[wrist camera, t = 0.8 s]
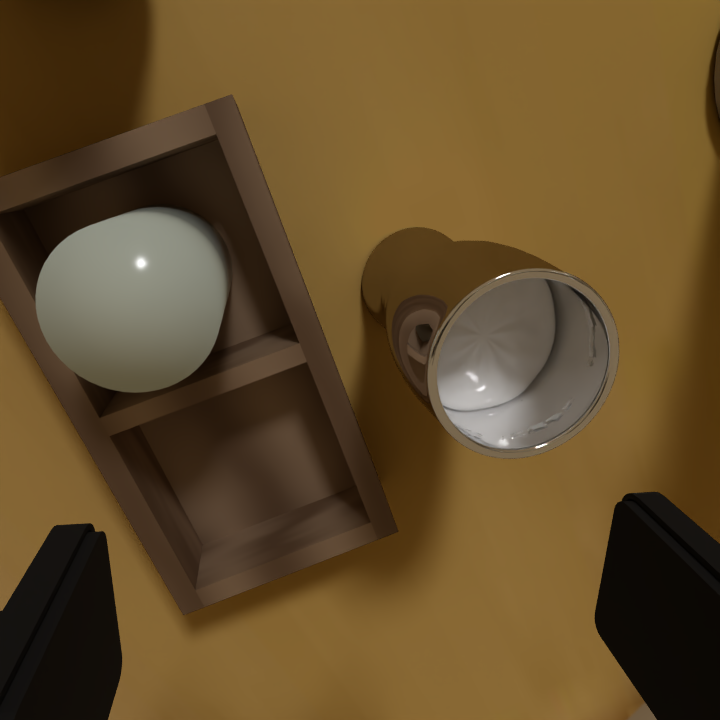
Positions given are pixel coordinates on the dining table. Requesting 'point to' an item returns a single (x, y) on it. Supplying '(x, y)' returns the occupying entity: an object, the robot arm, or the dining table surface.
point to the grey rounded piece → (136, 297)
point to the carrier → (206, 369)
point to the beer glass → (492, 339)
